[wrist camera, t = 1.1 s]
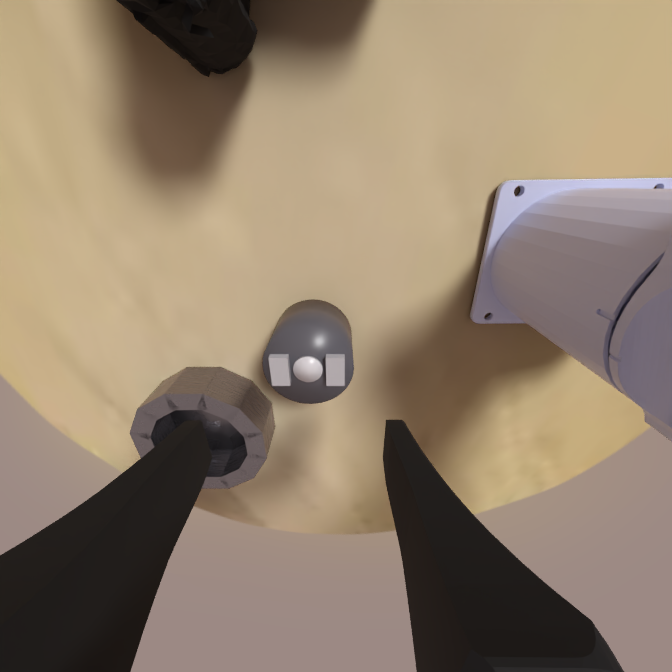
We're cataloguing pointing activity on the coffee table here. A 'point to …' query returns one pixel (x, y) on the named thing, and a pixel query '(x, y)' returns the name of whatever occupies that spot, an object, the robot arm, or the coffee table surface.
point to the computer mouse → (310, 353)
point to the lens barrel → (211, 420)
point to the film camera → (200, 30)
